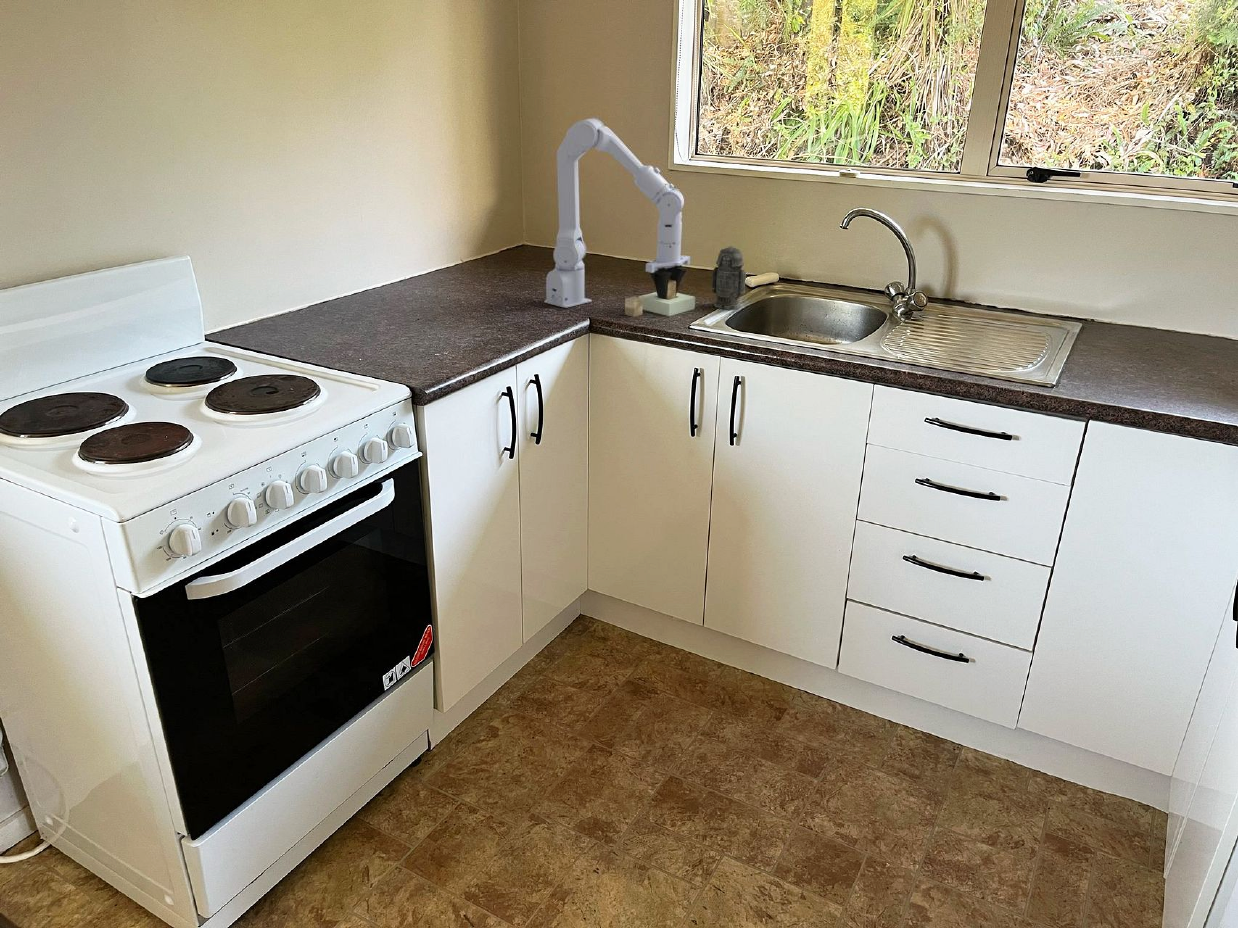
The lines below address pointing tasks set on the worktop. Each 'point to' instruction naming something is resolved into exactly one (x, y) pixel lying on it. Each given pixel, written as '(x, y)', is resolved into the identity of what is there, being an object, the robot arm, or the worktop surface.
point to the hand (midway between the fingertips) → (666, 297)
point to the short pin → (633, 306)
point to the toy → (729, 279)
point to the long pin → (671, 290)
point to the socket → (668, 304)
